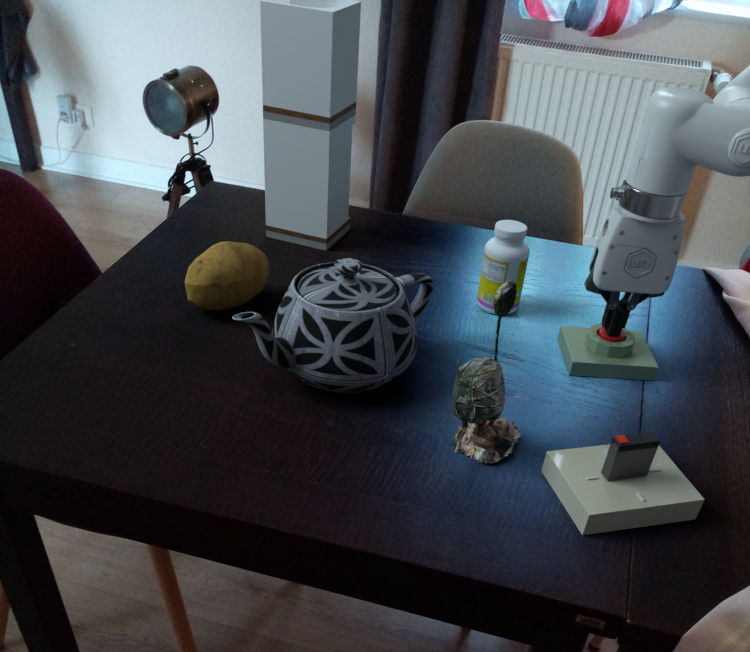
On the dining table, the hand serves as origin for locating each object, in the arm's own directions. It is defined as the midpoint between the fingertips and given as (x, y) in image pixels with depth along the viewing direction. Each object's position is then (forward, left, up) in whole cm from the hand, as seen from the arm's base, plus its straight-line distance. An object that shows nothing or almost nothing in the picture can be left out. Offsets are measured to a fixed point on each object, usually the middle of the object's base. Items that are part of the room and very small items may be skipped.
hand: (611, 331), depth 109 cm
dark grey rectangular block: (+5, +30, -1) cm, 30 cm away
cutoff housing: (0, 0, -5) cm, 5 cm away
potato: (+55, -9, -5) cm, 56 cm away
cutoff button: (0, 0, -2) cm, 2 cm away
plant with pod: (+20, +22, -5) cm, 30 cm away
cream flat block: (+5, +30, -5) cm, 31 cm away
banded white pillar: (+45, -37, -5) cm, 58 cm away
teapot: (+38, +7, -5) cm, 39 cm away
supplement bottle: (+14, -14, -5) cm, 20 cm away
